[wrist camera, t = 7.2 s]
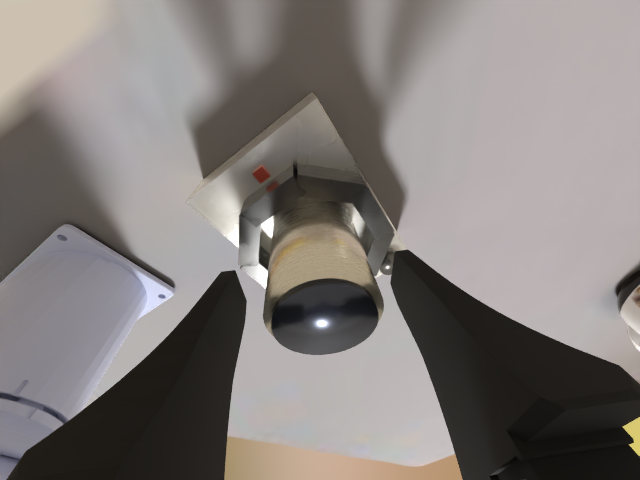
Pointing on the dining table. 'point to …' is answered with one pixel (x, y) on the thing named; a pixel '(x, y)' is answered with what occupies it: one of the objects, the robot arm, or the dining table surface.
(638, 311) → the spread jar
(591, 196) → the dining table surface
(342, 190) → the white knob box
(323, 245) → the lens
